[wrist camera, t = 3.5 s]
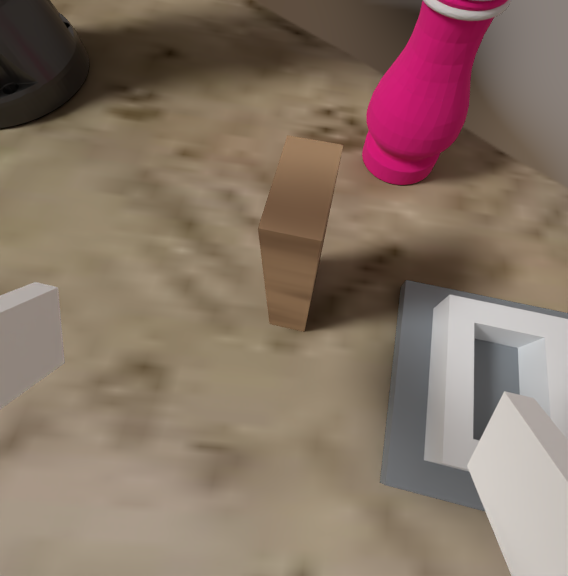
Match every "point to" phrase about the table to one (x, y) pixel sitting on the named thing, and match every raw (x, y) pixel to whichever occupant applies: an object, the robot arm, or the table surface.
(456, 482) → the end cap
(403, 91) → the pepper mill
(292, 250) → the wooden slat
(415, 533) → the table surface
